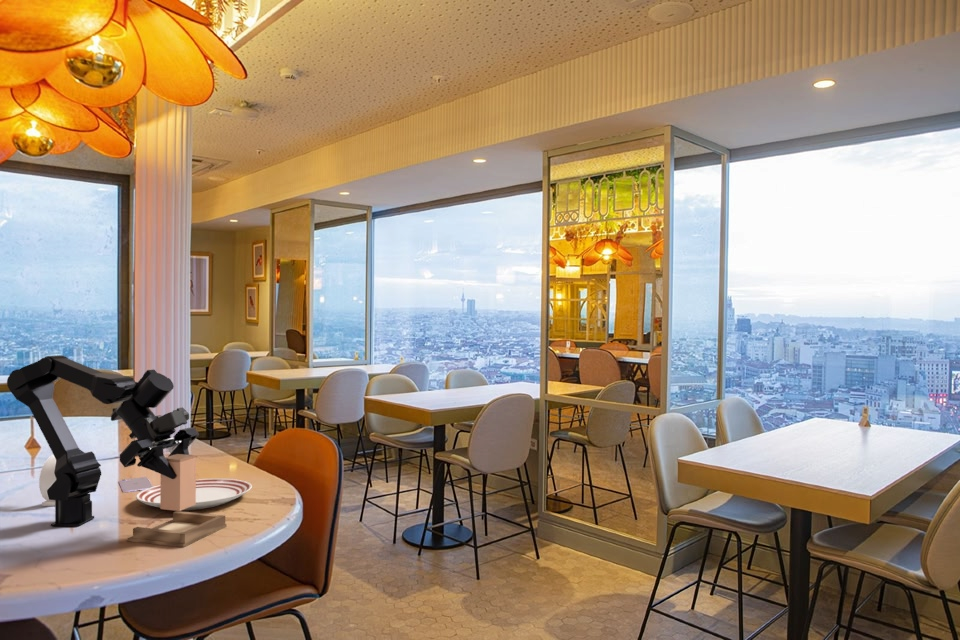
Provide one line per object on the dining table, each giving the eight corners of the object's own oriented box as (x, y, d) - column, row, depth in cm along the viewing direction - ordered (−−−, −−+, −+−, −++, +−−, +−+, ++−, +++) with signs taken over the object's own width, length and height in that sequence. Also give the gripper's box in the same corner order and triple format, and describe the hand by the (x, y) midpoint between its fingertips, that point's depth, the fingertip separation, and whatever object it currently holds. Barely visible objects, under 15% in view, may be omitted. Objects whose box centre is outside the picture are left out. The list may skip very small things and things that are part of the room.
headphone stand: (72, 500, 171) (72, 454, 171) (57, 507, 165) (57, 459, 165) (54, 500, 171) (54, 454, 171) (38, 507, 165) (39, 459, 165)
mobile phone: (123, 490, 178) (118, 479, 191) (123, 494, 178) (118, 482, 191) (154, 486, 182) (147, 475, 195) (154, 490, 182) (147, 479, 195)
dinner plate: (143, 493, 179) (143, 480, 179) (250, 484, 189) (250, 472, 189) (129, 522, 153) (129, 508, 153) (253, 510, 163) (253, 497, 163)
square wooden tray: (127, 541, 140) (127, 528, 140) (174, 521, 153) (174, 510, 153) (183, 547, 136) (183, 534, 136) (226, 526, 150) (226, 515, 150)
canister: (160, 508, 143) (160, 458, 143) (176, 502, 148) (176, 453, 148) (179, 510, 142) (180, 459, 142) (195, 504, 147) (196, 455, 146)
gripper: (131, 402, 137) (175, 459, 134) (192, 392, 155) (233, 442, 152) (99, 438, 139) (143, 495, 136) (164, 424, 157) (203, 474, 154)
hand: (183, 474), depth 144 cm, fingers closed on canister, 5 cm apart
